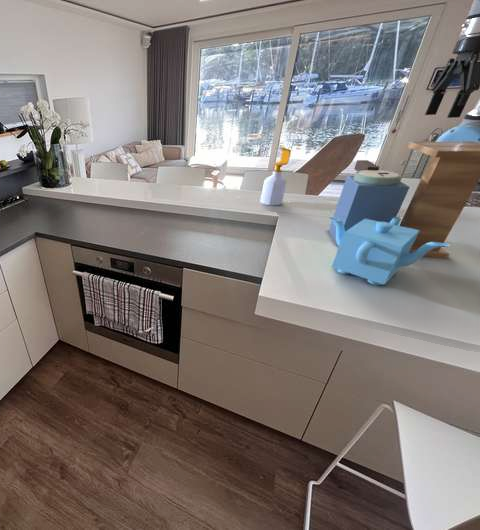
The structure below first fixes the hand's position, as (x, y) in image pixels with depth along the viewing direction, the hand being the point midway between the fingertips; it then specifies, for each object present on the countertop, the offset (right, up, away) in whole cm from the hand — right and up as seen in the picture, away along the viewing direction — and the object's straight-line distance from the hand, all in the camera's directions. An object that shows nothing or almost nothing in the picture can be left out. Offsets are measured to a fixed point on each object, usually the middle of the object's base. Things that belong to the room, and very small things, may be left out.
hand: (441, 116), depth 96 cm
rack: (-16, -44, -4) cm, 47 cm away
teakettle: (-38, -52, -15) cm, 66 cm away
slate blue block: (-28, -42, +2) cm, 50 cm away
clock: (-27, -22, -4) cm, 35 cm away
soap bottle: (-37, -21, +38) cm, 57 cm away
